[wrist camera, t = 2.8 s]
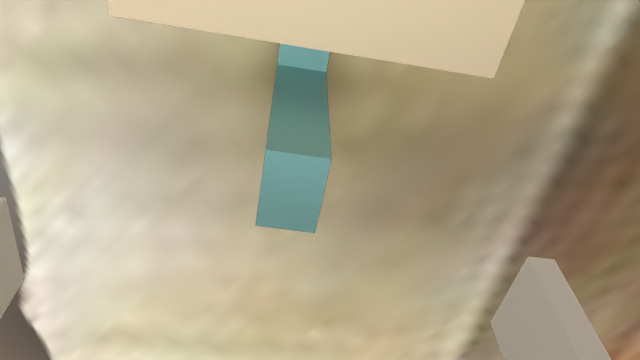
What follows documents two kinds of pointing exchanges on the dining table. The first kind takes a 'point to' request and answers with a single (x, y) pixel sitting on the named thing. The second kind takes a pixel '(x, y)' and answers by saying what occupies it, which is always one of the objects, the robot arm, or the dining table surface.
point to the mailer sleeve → (354, 26)
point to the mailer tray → (296, 142)
